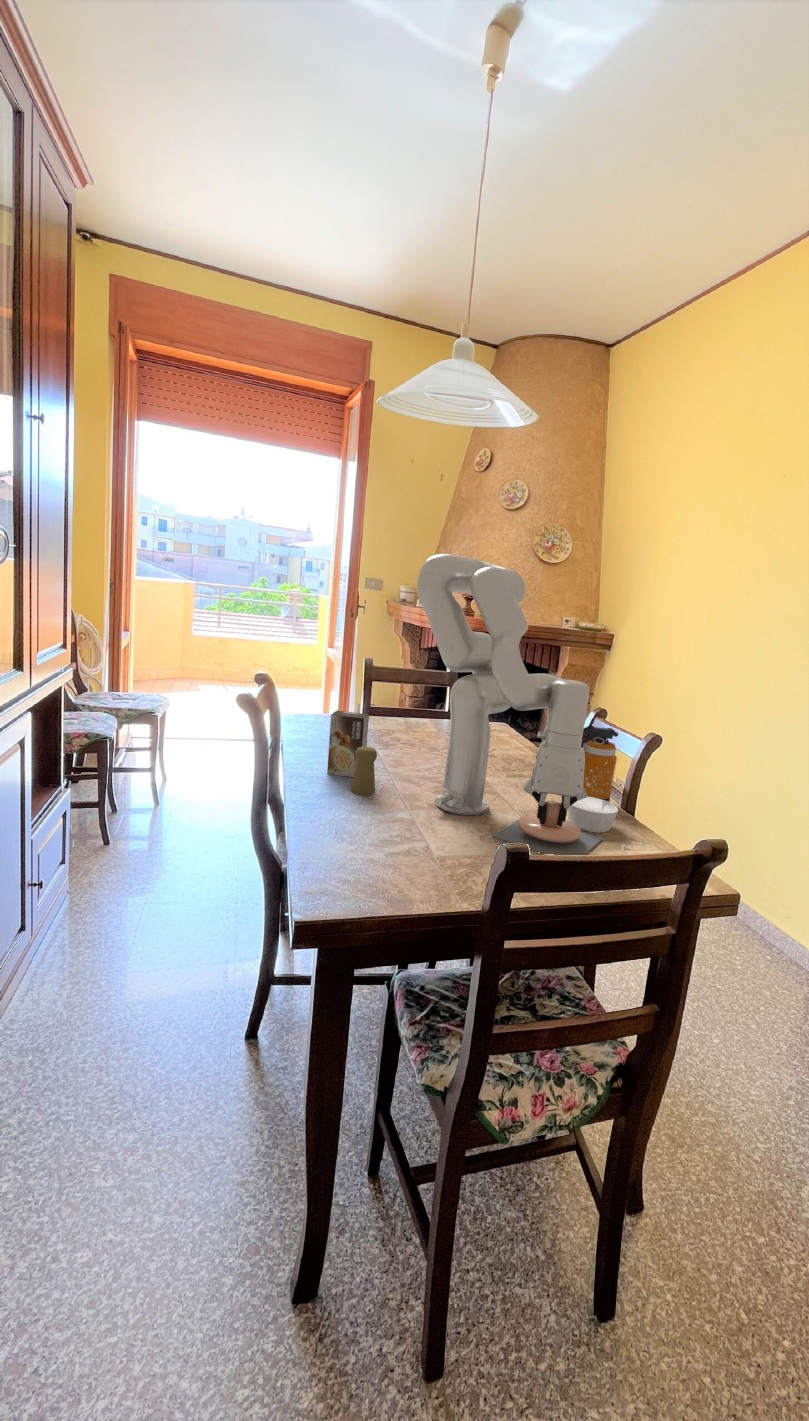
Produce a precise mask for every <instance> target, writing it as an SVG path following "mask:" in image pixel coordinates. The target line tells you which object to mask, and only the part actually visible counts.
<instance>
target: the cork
mask: <svg viewBox="0 0 809 1421" xmlns="http://www.w3.org/2000/svg"><path fill="white" fill-rule="evenodd" d="M355 756H356V759H357V763H356V768H355V772H354V777H352V782H351V786H350V792H351V793H352V794H354V795H359V796H371V795H372V794H373V795H374V793H375V794H376V783H375V782H376V778H375V776H376V775H375V761H376V760H377V758H378V753H377V750H376V749H375V748H374V747H371V746H367V747H359V748H358V749H357V750H356V753H355Z"/></svg>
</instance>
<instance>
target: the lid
mask: <svg viewBox="0 0 809 1421" xmlns="http://www.w3.org/2000/svg"><path fill="white" fill-rule="evenodd" d="M545 803H546V805H545V806H546V807H547V809H546V815H545V822H544V824H540V821H539V819H538V818H537V813H536V814H526V815H523V816H521V817H520V818H519V819H520V820H519V819H518V820H519V828H520V829H521V830H522V831H523V832H524V833H526V834H528V835H530V836H532V837H535V838H538V839H542V840H546V841H551V842H561V843H566V842H574V841H577V840H578V839H580V837H581V832H582V830H581V829H580V828H579V827H578V826H577V825H576V824H574V823H572V822H570V821H569V819H568V820H567V819H566V820H565V822H563V823H562V827H561V826H558V821H559V814H560V808H561V802H558V801H555V800H546V801H545Z"/></svg>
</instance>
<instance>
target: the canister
mask: <svg viewBox="0 0 809 1421" xmlns="http://www.w3.org/2000/svg"><path fill="white" fill-rule="evenodd" d="M613 737H619V733H618V732H617V731H615V729H613V728H612V727H608V728H607V727H606V728H605V727H598V726H597V727H596V726H594V725H593V724H590V725H588V726H586V727H584V730H583V736H582V743H581V747H582V748H583V749H584V751H585V768H584V780H583V786H584V789H585V791H586V794H587V797H594V798H598V799H602V800H605V801H607V802H610V800H611V795H612V788H613V782H614V777H615V771H616V765H617V760H618V757H617V756H616V750H617V747H616V744H615V743H613V742H611V741H609V739H610V740H613Z"/></svg>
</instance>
